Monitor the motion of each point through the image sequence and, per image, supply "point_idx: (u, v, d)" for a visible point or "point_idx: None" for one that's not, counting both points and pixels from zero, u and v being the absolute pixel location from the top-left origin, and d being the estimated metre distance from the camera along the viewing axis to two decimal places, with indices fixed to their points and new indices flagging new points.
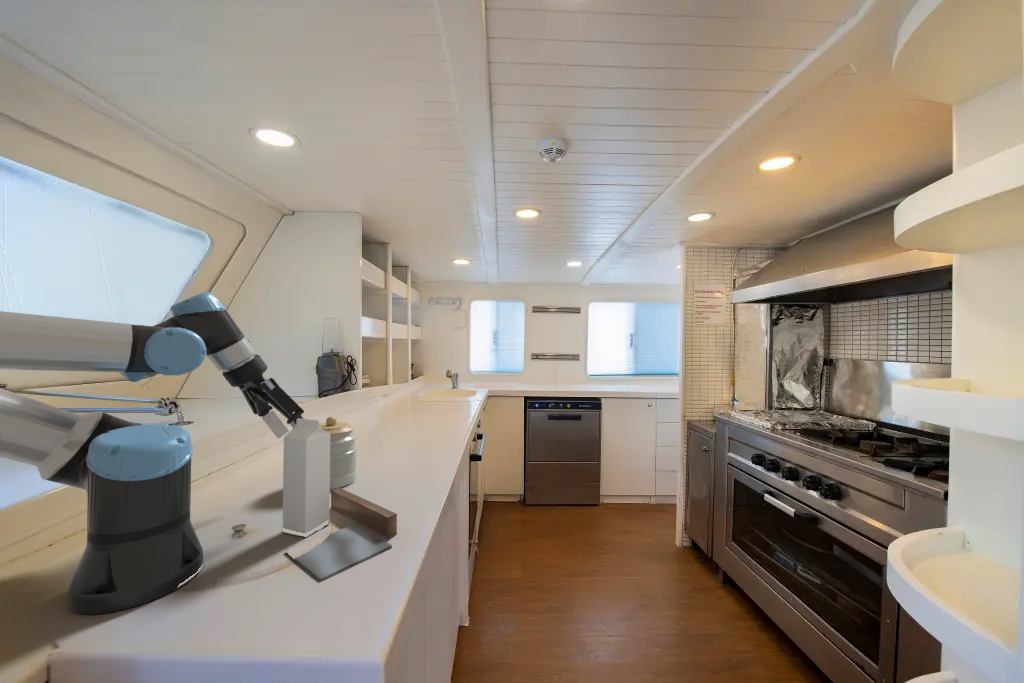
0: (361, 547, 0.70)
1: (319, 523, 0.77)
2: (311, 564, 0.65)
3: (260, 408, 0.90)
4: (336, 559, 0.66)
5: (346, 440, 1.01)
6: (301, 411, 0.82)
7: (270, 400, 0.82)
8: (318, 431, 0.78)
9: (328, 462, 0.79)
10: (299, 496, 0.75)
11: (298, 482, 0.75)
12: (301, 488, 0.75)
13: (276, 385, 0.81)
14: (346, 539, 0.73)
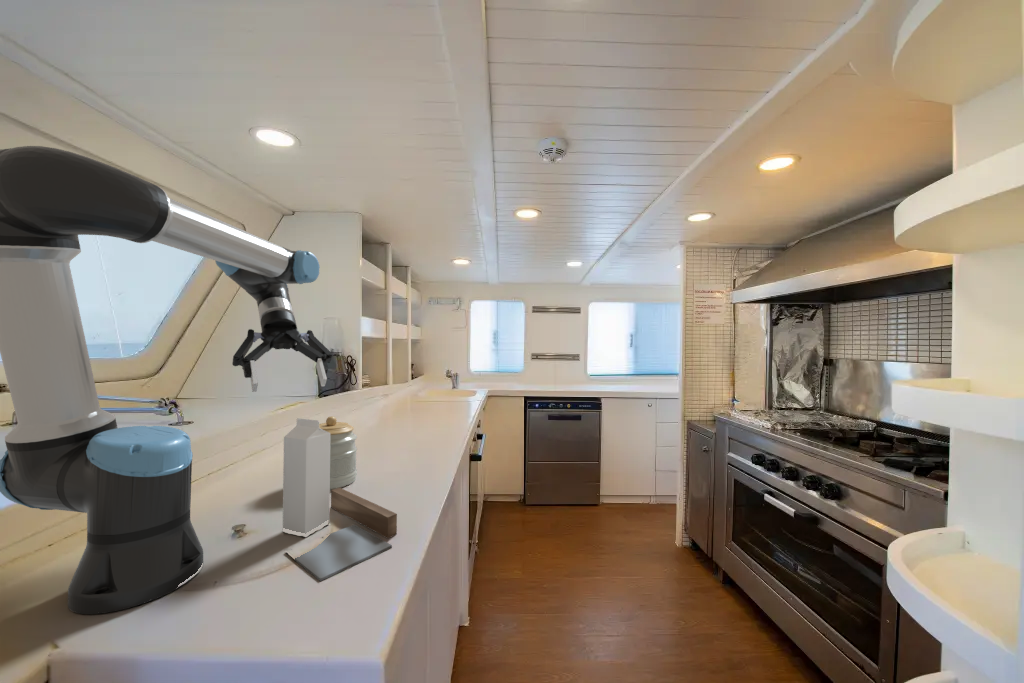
0: (361, 547, 0.70)
1: (319, 523, 0.77)
2: (311, 564, 0.65)
3: (258, 353, 0.87)
4: (336, 559, 0.66)
5: (346, 440, 1.01)
6: None
7: None
8: (318, 431, 0.78)
9: (328, 462, 0.79)
10: (299, 496, 0.75)
11: (298, 482, 0.75)
12: (301, 488, 0.75)
13: None
14: (346, 539, 0.73)
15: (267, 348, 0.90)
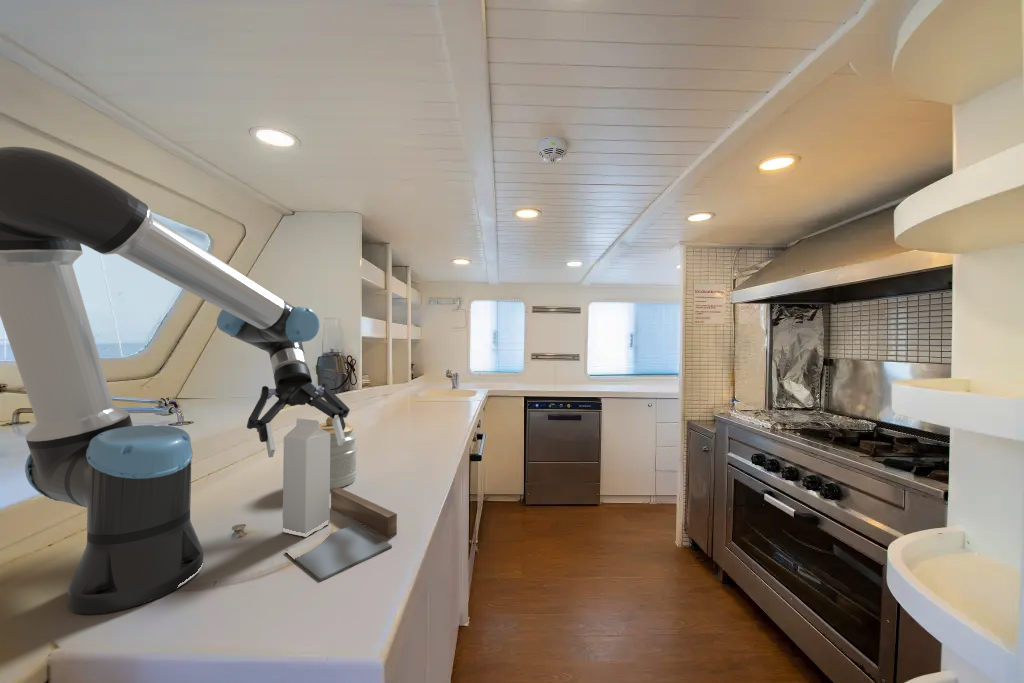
0: (361, 547, 0.70)
1: (319, 523, 0.77)
2: (311, 564, 0.65)
3: (273, 414, 0.83)
4: (336, 559, 0.66)
5: (346, 440, 1.01)
6: None
7: None
8: (318, 431, 0.78)
9: (328, 462, 0.79)
10: (299, 496, 0.75)
11: (298, 482, 0.75)
12: (301, 488, 0.75)
13: None
14: (346, 539, 0.73)
15: (282, 406, 0.86)
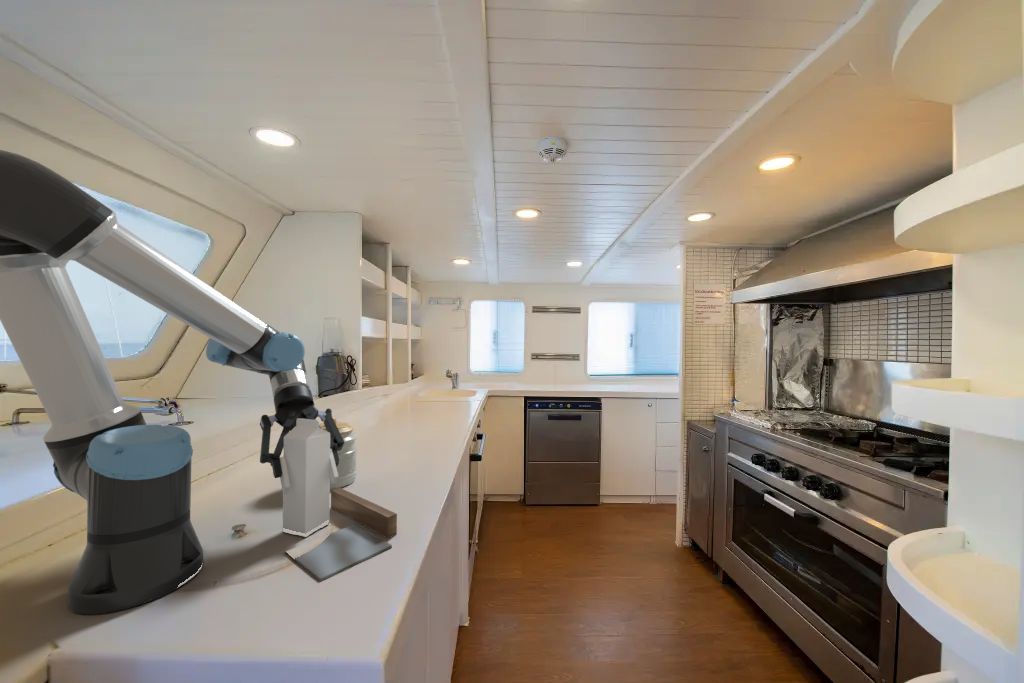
0: (361, 547, 0.70)
1: (319, 523, 0.77)
2: (311, 564, 0.65)
3: None
4: (336, 559, 0.66)
5: (346, 440, 1.01)
6: None
7: None
8: (318, 431, 0.78)
9: (328, 462, 0.79)
10: (299, 496, 0.75)
11: (298, 482, 0.75)
12: (301, 488, 0.75)
13: None
14: (346, 539, 0.73)
15: None
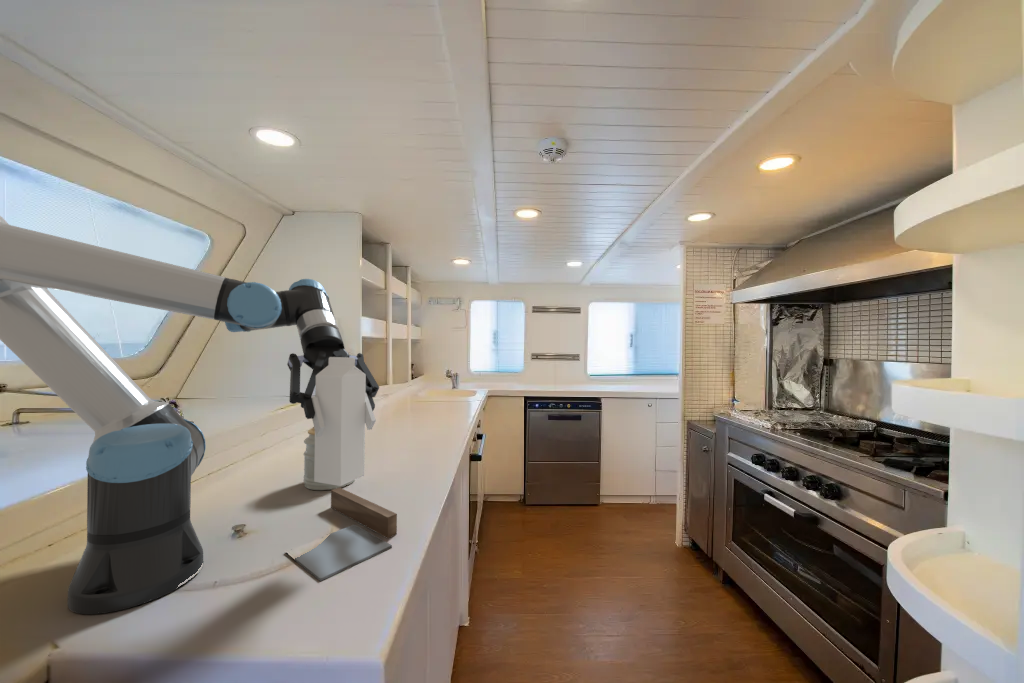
0: (361, 547, 0.70)
1: (354, 472, 0.70)
2: (311, 564, 0.65)
3: None
4: (336, 559, 0.66)
5: None
6: None
7: None
8: (353, 370, 0.70)
9: (363, 406, 0.72)
10: (334, 440, 0.67)
11: (332, 424, 0.67)
12: (336, 431, 0.67)
13: None
14: (346, 539, 0.73)
15: None
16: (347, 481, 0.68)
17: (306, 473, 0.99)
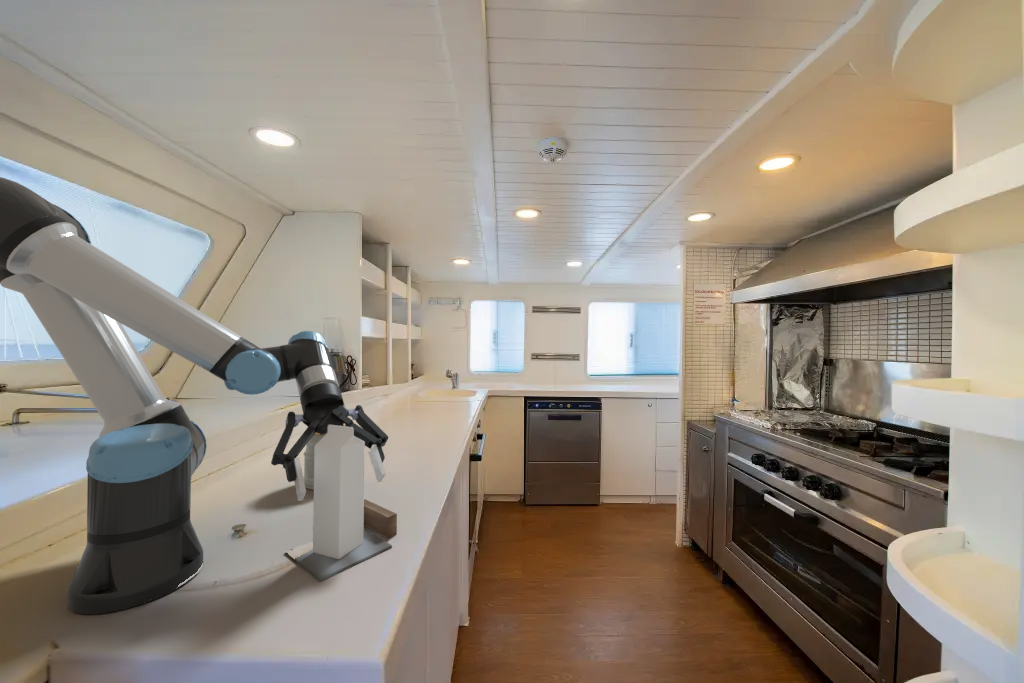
0: (361, 547, 0.70)
1: (353, 542, 0.69)
2: (311, 564, 0.65)
3: (302, 446, 0.69)
4: (336, 559, 0.66)
5: None
6: None
7: None
8: (352, 439, 0.70)
9: (362, 474, 0.71)
10: (332, 513, 0.67)
11: (331, 497, 0.67)
12: (334, 503, 0.67)
13: None
14: None
15: (311, 435, 0.73)
16: (346, 553, 0.68)
17: (306, 473, 0.99)
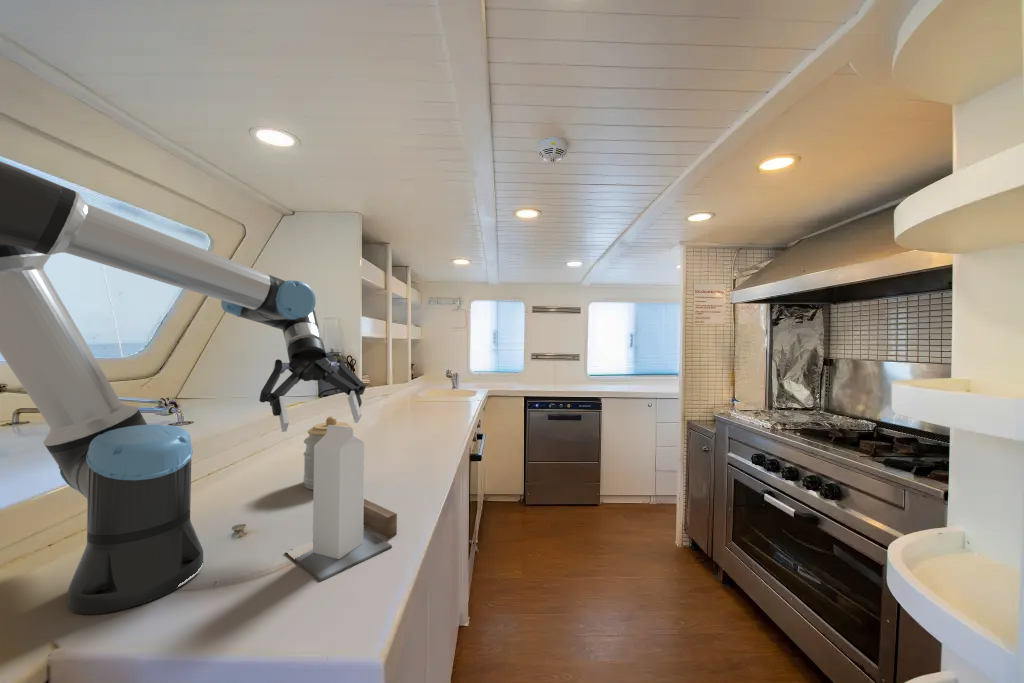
0: (361, 547, 0.70)
1: (353, 542, 0.69)
2: (311, 564, 0.65)
3: (287, 387, 0.79)
4: (336, 559, 0.66)
5: None
6: None
7: None
8: (352, 439, 0.70)
9: (362, 473, 0.71)
10: (332, 513, 0.67)
11: (330, 497, 0.67)
12: (334, 503, 0.67)
13: None
14: None
15: (296, 380, 0.82)
16: (346, 553, 0.68)
17: (306, 473, 0.99)
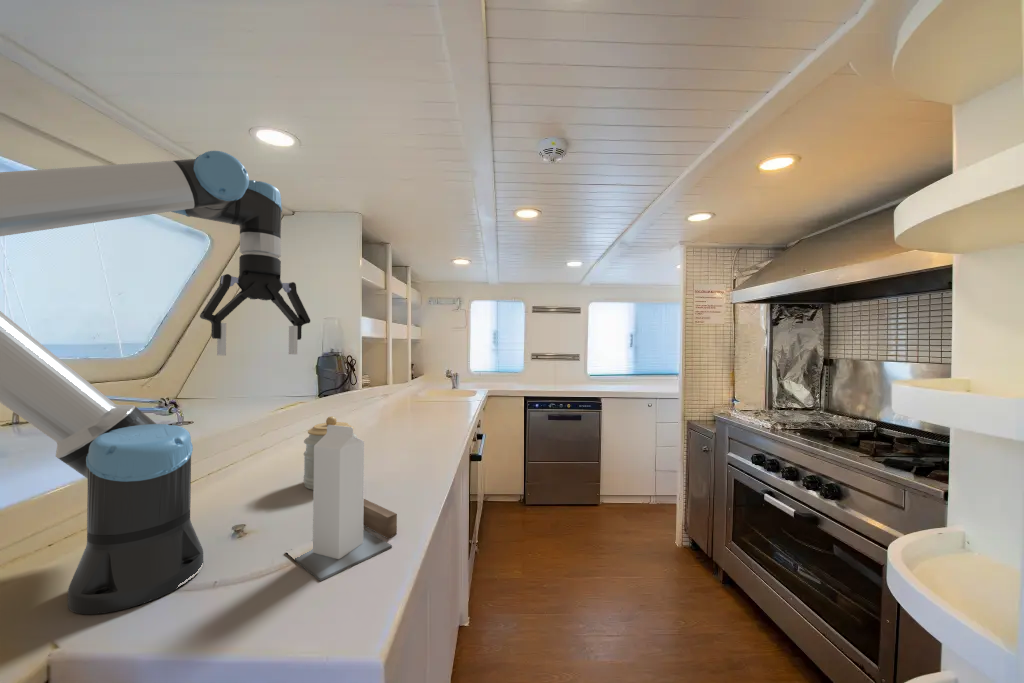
0: (361, 547, 0.70)
1: (353, 542, 0.69)
2: (311, 564, 0.65)
3: None
4: (336, 559, 0.66)
5: None
6: None
7: None
8: (352, 439, 0.70)
9: (362, 473, 0.71)
10: (332, 513, 0.67)
11: (330, 497, 0.67)
12: (334, 503, 0.67)
13: None
14: None
15: None
16: (346, 553, 0.68)
17: (306, 473, 0.99)
